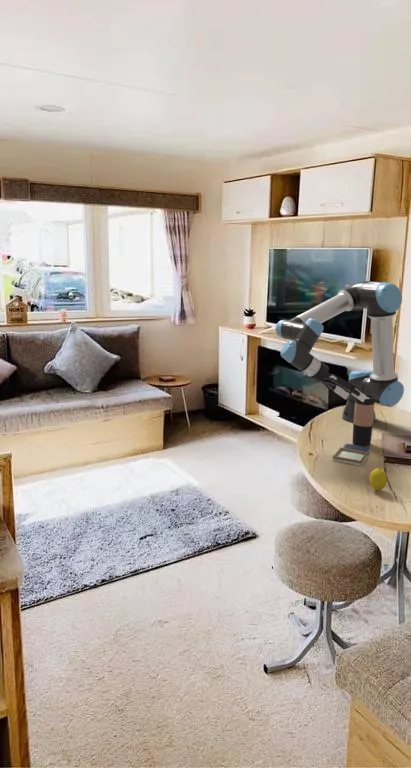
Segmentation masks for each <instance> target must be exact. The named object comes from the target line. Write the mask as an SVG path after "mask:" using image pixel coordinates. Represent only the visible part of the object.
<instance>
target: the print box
mask: <svg viewBox="0 0 411 768" xmlns="http://www.w3.org/2000/svg"><path fill="white" fill-rule="evenodd" d="M367 454H368V452H364V451H358V450H352V449H347V448H343V447H341V446H340V447H339V448H338V449H337V451H336V452H335V453H334V454H333V455H332V462H339V463H345V464H349V465H353V466H354V465H355V466H360V467H361V466H362V465H363V463H364V462H365V460H366V459H367V458H368V455H369V454H368V455H367Z"/></svg>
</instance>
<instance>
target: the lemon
mask: <svg viewBox="0 0 411 768" xmlns="http://www.w3.org/2000/svg"><path fill="white" fill-rule="evenodd" d="M387 476H388V475H387V473H386V472H385V470H383V469H382V468H380V467H378V468H375V469H373V470H371V472H370V475H369V480H368V481H369V485H370V487H371V488H373V489H374V490H375V491H376V492H379V491H381V490H383V489H385V487H386V486H387V483H388V477H387Z"/></svg>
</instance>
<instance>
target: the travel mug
mask: <svg viewBox="0 0 411 768" xmlns="http://www.w3.org/2000/svg"><path fill="white" fill-rule="evenodd" d="M366 396H367V397H366V398H365V400H364V402H362V401H360V400H359V399H357V398H356V399H355V410H354V421H353V422H352V425H353V426H352V443H351V444H352V445H358V446H364V447H370V446H371V444H372V443H371V442H372V434H373V428H374V427H373V426H374V422H373V416H374V411H375V404H376V403H375V398H374V397H373V396H371V395H366Z"/></svg>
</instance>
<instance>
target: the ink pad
mask: <svg viewBox="0 0 411 768" xmlns="http://www.w3.org/2000/svg"><path fill="white" fill-rule="evenodd" d="M342 448H347V449H352V450H358V451H364V452H368V454H367V456H368V455H369V453H370V452H371V450H372V448H371V447H370V446H368V447H364V446H358V445H354V444H353V443H344V445H343V446H342Z"/></svg>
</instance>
